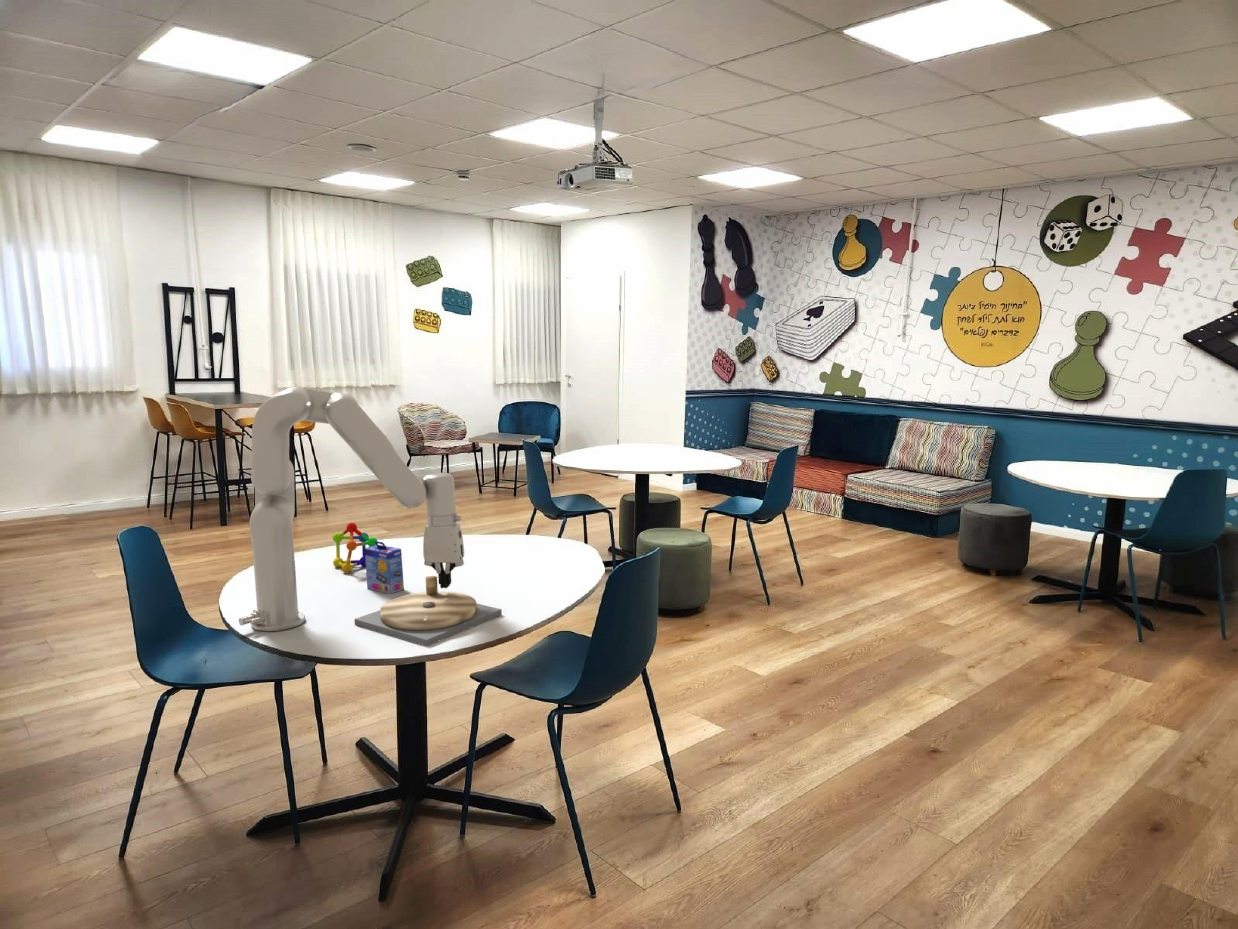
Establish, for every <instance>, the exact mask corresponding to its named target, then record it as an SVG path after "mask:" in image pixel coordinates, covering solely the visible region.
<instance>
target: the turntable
mask: <svg viewBox="0 0 1238 929" xmlns="http://www.w3.org/2000/svg"><path fill="white" fill-rule="evenodd" d="M476 603H477V600H476V599H475V597H472V596H471V595H469V594H464V593H461V592H456V591H455V592H454V591H440V590H438V575H437V576H436V575H428V576H426V577H425V591H424V592H417V593H409V594H405V595H402V596H399V597H395V598H393V599H390V600H388V601H386V602H385V603H384V604H383V605H381V607H380V609H379V610H380V618H381V621H382V622H383V623H384V624H386V625H388V626H391V627H394V628H399V629H406V630H429V629H438V628H444V627H449V626H453V625H457V624H460V623H463V622H465V621H467V620H469V619H471V618H472V617H473V616H474V615H475V614H476V612H477V604H478V603H477V604H476Z"/></svg>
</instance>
